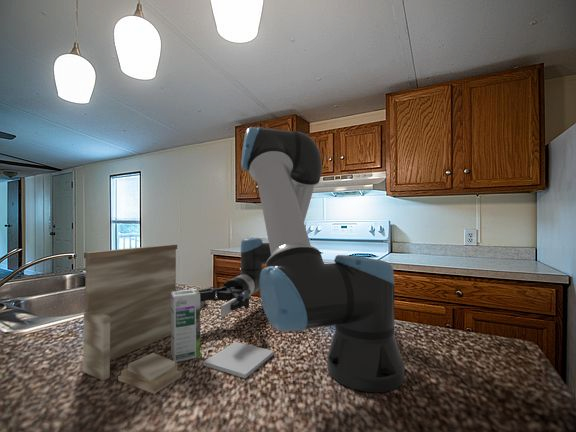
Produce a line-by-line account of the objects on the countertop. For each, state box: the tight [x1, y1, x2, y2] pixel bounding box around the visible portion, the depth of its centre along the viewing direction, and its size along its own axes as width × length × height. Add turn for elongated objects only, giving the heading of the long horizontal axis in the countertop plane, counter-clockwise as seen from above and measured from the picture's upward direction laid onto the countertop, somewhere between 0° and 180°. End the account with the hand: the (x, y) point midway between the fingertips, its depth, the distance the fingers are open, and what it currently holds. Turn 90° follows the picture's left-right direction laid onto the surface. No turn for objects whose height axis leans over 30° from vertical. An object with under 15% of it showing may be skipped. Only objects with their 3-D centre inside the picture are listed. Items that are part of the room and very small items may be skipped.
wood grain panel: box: [82, 243, 178, 381], centre depth 66 cm, size 8×23×24 cm, turn 153°
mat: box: [202, 341, 275, 379], centre depth 62 cm, size 11×11×1 cm
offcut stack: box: [117, 352, 183, 395], centre depth 55 cm, size 10×7×4 cm
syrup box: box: [170, 288, 201, 363], centre depth 64 cm, size 6×6×14 cm
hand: (198, 308), depth 69 cm, fingers open, 13 cm apart
